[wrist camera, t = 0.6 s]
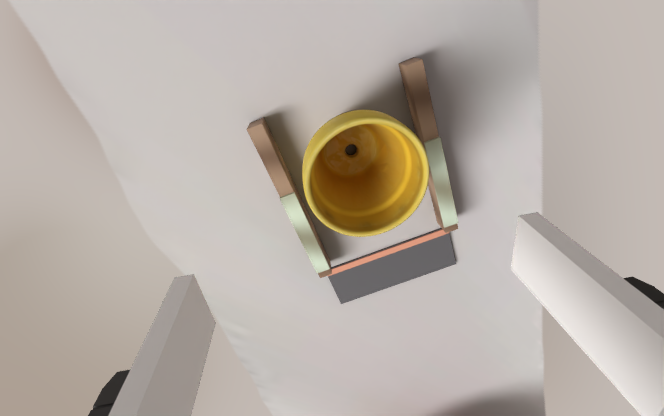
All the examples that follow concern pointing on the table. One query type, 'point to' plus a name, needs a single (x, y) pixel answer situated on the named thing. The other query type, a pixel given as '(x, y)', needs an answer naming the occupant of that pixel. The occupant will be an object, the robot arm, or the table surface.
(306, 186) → the plant pot
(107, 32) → the table surface
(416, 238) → the mat
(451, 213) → the pair of brown bars
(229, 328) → the table surface
